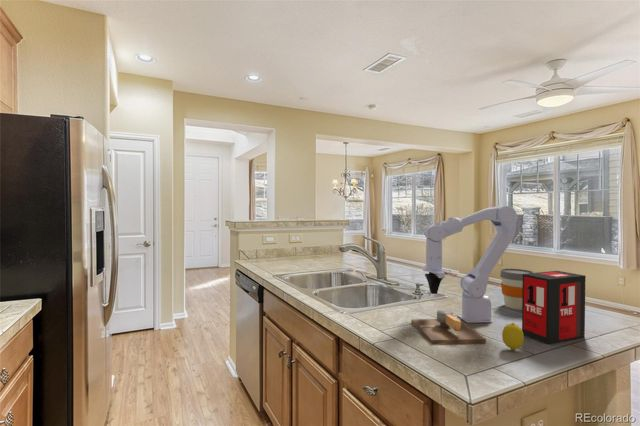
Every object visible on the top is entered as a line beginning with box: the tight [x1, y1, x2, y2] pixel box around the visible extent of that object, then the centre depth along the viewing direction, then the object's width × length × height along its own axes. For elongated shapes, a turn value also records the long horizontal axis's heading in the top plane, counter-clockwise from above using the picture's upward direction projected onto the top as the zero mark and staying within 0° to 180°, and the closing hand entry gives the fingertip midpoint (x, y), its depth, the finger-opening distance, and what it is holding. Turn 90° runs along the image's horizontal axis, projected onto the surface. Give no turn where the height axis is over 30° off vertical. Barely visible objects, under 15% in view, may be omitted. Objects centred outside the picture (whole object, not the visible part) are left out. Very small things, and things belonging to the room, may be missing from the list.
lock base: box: [410, 318, 487, 345], centre depth 112 cm, size 17×19×3 cm
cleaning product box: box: [521, 270, 586, 346], centre depth 109 cm, size 16×9×20 cm, turn 110°
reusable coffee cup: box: [499, 268, 535, 311], centre depth 142 cm, size 13×13×15 cm
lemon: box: [501, 322, 525, 351], centre depth 98 cm, size 6×6×8 cm
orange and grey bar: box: [436, 309, 462, 331], centre depth 111 cm, size 12×5×3 cm, turn 6°
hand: (433, 293), depth 126 cm, fingers closed
